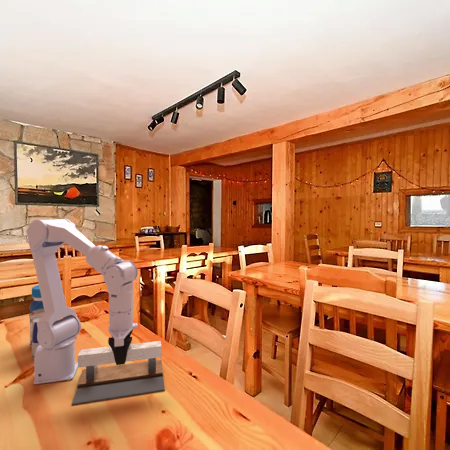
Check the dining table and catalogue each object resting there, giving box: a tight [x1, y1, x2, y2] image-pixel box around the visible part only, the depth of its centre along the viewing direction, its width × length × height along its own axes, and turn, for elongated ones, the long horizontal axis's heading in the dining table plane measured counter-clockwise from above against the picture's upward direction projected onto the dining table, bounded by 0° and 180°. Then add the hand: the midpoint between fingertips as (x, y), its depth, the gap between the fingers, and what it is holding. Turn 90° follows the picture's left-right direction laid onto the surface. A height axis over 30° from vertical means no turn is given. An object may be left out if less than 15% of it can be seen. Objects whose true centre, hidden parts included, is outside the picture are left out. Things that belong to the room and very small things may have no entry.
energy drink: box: [31, 316, 42, 360], centre depth 90 cm, size 5×5×12 cm
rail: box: [77, 340, 162, 368], centre depth 74 cm, size 20×3×3 cm, turn 106°
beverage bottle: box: [28, 284, 58, 348], centre depth 97 cm, size 8×8×20 cm
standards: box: [76, 358, 164, 389], centre depth 81 cm, size 22×7×6 cm, turn 106°
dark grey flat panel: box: [71, 375, 166, 406], centre depth 74 cm, size 22×6×1 cm, turn 106°
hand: (121, 360), depth 74 cm, fingers closed on rail, 3 cm apart
